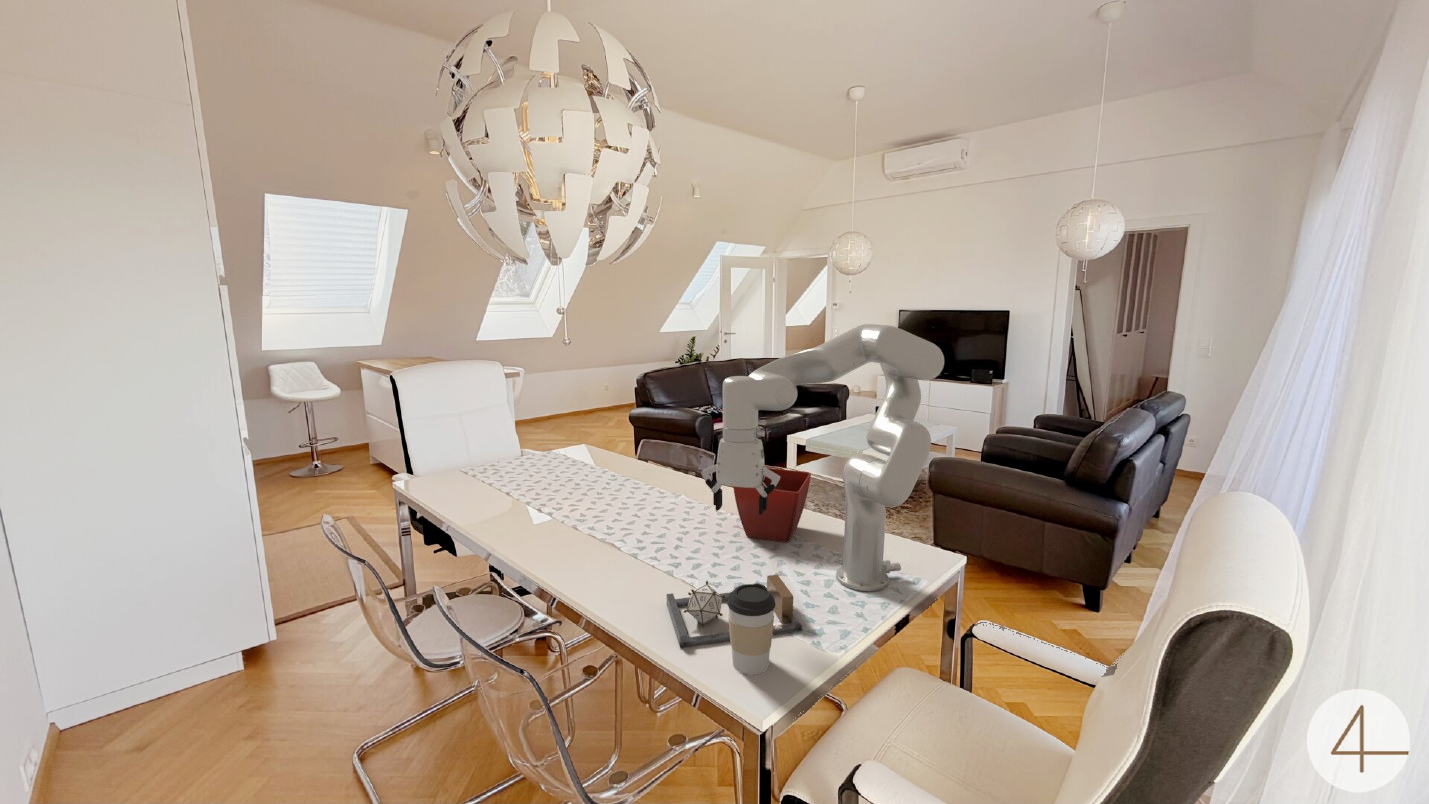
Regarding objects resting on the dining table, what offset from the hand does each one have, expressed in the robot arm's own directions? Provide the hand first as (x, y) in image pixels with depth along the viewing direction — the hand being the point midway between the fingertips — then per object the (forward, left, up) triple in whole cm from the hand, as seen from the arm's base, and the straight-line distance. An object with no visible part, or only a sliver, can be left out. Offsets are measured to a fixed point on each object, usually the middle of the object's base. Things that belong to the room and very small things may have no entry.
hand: (740, 510), depth 127 cm
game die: (+9, +4, -23) cm, 25 cm away
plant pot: (-21, -38, -23) cm, 50 cm away
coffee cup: (+4, +20, -23) cm, 31 cm away
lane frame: (+3, +4, -23) cm, 23 cm away
